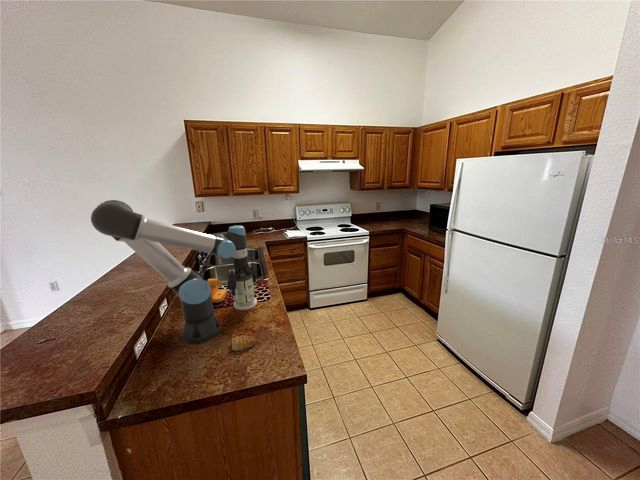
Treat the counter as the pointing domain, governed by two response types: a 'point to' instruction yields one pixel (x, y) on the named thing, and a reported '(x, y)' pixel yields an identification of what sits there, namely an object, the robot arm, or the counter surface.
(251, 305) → the plate
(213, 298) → the bracket
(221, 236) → the robot arm
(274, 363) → the counter surface
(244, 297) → the coffee can
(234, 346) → the pastry
